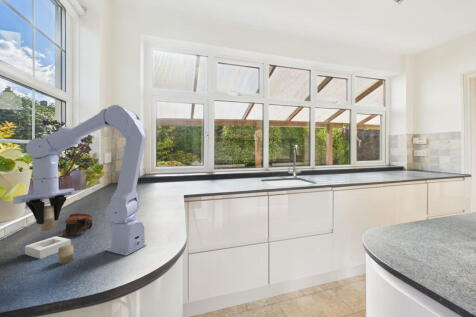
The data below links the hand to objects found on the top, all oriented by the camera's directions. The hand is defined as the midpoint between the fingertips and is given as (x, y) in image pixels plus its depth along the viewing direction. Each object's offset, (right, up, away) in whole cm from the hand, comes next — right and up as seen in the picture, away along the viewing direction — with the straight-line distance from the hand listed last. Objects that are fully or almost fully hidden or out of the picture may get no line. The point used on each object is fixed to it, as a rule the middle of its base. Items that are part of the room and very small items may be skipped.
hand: (47, 221), depth 66 cm
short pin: (+11, -9, -6) cm, 16 cm away
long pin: (0, -2, 0) cm, 2 cm away
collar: (0, -9, 0) cm, 9 cm away
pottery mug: (-2, -9, +16) cm, 18 cm away
